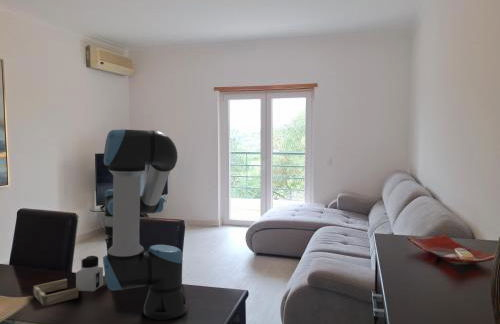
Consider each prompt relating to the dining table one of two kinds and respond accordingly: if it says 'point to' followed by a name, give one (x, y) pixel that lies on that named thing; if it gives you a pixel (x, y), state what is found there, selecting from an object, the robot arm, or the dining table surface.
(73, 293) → the corral
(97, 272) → the container
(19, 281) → the dining table surface
